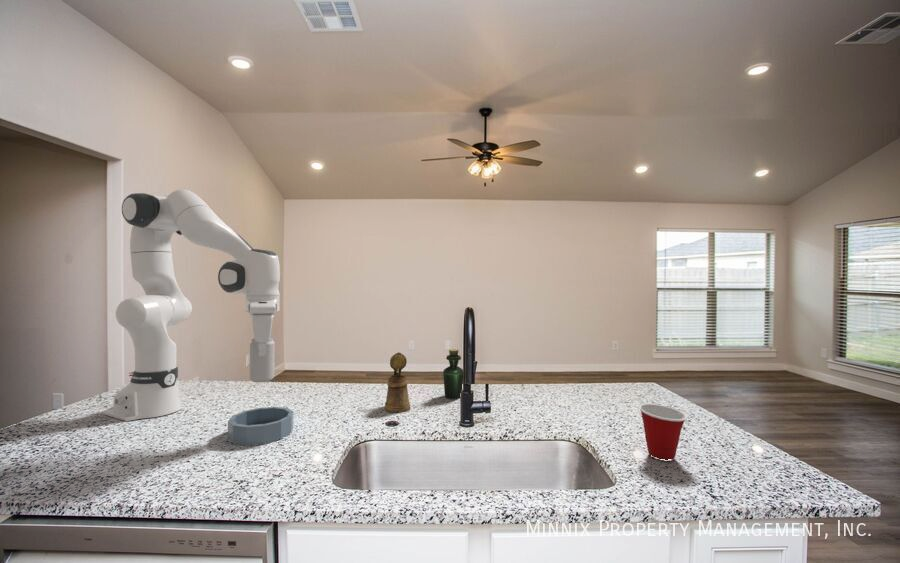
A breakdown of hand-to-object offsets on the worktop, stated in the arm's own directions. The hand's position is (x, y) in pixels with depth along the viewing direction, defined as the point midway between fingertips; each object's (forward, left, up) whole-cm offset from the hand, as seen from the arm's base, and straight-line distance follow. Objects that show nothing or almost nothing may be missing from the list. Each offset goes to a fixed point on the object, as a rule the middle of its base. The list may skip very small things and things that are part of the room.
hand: (262, 353), depth 112 cm
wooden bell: (+28, +34, -23) cm, 50 cm away
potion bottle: (+44, +51, -23) cm, 71 cm away
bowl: (0, 0, -23) cm, 23 cm away
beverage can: (0, 0, -8) cm, 8 cm away
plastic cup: (+108, +15, -23) cm, 112 cm away
